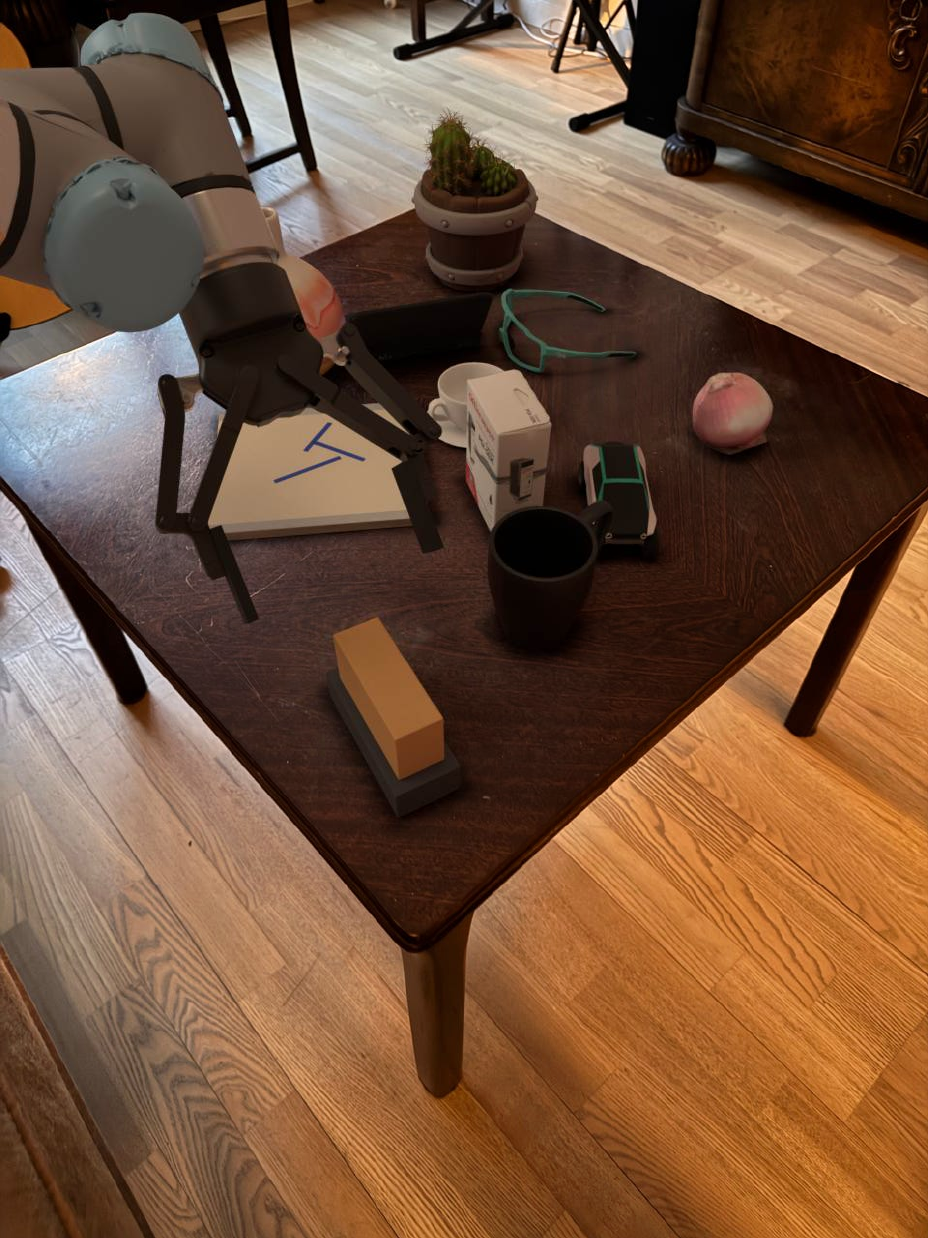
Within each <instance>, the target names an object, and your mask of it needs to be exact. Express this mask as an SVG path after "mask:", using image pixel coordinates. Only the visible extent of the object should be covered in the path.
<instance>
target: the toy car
mask: <svg viewBox="0 0 928 1238" xmlns="http://www.w3.org/2000/svg"><path fill="white" fill-rule="evenodd" d="M582 458H583V460H581V461H580V462H579V469H578V489H579V490H580V491H582V492H583V491H584V492H586V500H587V501H586V502H587V506H589V505H590V504H592V503H594V502H595V501H598V500H604V501H606V502H608V503H609V504H610V505H611V506H612V509H613V518H612V522H611V525H610V527H609V530H608V532H607V534H606V537H605V539H604V541H603V543H602V545H601V547H600V549H599V551H598V554H597V557H600V556H601V552H602V547H603V546H604V545H607V544H611V545H635V544H636V545H639V546H640V550H641V555H642V556H643V557H646V558H652V557H655V556H656V555H657V552H658V547H659V532H658V527H657V526H656V525H657V514H656V513H655V510H654V506H653V503H652V502H653V501H652V497H651V493H650V487H649V482H648V478H647V466H646V460H645V456H644V453H643V451H642V449H641V447H640V446H639V445H638V444H634V443H633V444H628V443H627V444H626V443H624V442H621V441H617V440H611V441H610V440H609V441H605V442H602V443H590V444H588V445H586V446H585V448H584V449H583V457H582ZM593 524H594V522H593V523H592V524H591V525H590V527H591V529H592V527H593Z"/></svg>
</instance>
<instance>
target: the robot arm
mask: <svg viewBox="0 0 928 1238" xmlns="http://www.w3.org/2000/svg"><path fill="white" fill-rule="evenodd" d="M225 107H226V106H225V103H224V97H223V94H222V92H221V90H220V87H219V86H218V85H217V83H216V81H215V79H214V77H213V74H212V72H211V70H210V67H209V65H208V63H207V60H206V58H205V56H204V55H203V53H202V51H201V49H200V47H199V44H198V42H197V40H196V38H195V36H194V35H193V34H192V33H191V32H190V30H189V29H187V27H186V26H185V25H183V24H181V23H180V22H179V21H177V20H175V19H173V18H171V17H169V16H166V15H163V14H158V13H152V12H135V13H130V14H128V16H127V17H126V18H125V19H122V20H115V19H110V20H108V21H105V22H103V23H102V24H101V25H99V26H98V27H97V28H96V29H94V30H93V31H92V32H91V33H90V34H89V35H88V36H87V38H86V39H85V41H84V43H83V45H82V47H81V51H80V66H71V67H35V68H34V67H31V68H26V67H25V68H23V67H22V68H0V277H4V278H8V279H11V280H14V281H17V282H21V283H24V284H28V285H32V286H34V287H38V288H41V289H45V290H48V291H51V292H53V293H54V295H55V296H56V297H57V299H59V301H60V303H62V304H63V305H64V306H66V307H67V308H69V309H70V310H72V311H74V312H75V313H76V314H79V315H81V316H83V317H84V318H86V320H88V321H90V322H91V323H93V324H95V325H96V326H98V327H101V328H103V329H107V330H109V331H114V332H118V333H128V334H129V333H139V332H144V331H149V330H152V329H155V328H158V327H160V326H162V325H164V324H167V322H169V321H171V320H172V319H174V318H175V317H176V316H177V315H178V316H179V318H180V320H181V322H182V325H183V329H184V331H185V333H186V336H187V338H188V341H189V344H190V346H191V348H192V350H193V353H194V356H195V358H196V361H197V365H198V373H197V374H191V375H184V376H178V377H175V376H174V375H173V374H170V373H165V374H161V376H159V377H158V380H157V389H156V390H157V391H156V392H157V397H158V401H159V404H160V408H161V411H162V415H163V418H164V424H163V433H162V445H161V454H160V455H161V456H160V468H159V477H158V489H157V498H156V499H157V500H156V511H155V520H154V521H155V523H154V525H155V526H154V527H155V529H156V531H157V532H158V533H160V534H161V535H169V534H170V535H171V534H172V535H173V534H174V535H185V536H187V537H188V538H189V539H190V540H191V542H192V544H193V546H194V549H195V551H196V554H197V556H198V558H199V561H200V564H201V566H202V569H203V571H204V573H205V576H207V578H208V579H209V580H210V581H211V582H213V581H216V580H219V579H221V578H225V580H226V583H227V585H228V587H229V590H230V593H231V594H232V597H233V600H234V602H235V605H236V607H237V609H238V612H239V614H240V617H241V620H242V621H243V624H252V623H254V622H256V621H259V620H260V617H259V614H258V611H257V609H256V607H255V604H254V601H253V600H252V597H251V594H250V592H249V589H248V587H247V584H246V582H245V579H244V577H243V575H242V571H241V569H240V567H239V565H238V561H237V560H236V557H235V554H234V552H233V550H232V547H231V544H230V543H229V542H230V541H229V540H227V537H226V535H225V532H224V530H223V527H222V525H219V526H216V527H213V528H209V525H208V520H209V517H210V515H211V512H212V509H213V506H214V503H215V501H216V498H217V495H218V492H219V489H220V487H221V484H222V481H223V478H224V475H225V473H226V470H227V467H228V464H229V461H230V458H231V456H232V453H233V450H234V447H235V444H236V442H237V439H238V436H239V434H240V431H241V428H242V426H243V423H246V424H248V425H252V426H257V428H258V427H261V426H264V425H268V424H269V423H271V422H272V421H274V420H276V419H277V418H290V417H293V416H296V415H300V414H301V413H302V411H304V410H305V409H306V408H313V409H315V410H316V411H318V412H320V413H323V414H326V415H328V416H330V417H331V418H333V419H335V420H336V421H338V422H340V423H341V424H343V425H344V426H346V427H348V428H349V429H351V430H352V431H354V432H356V433H357V434H359V435H360V436H362V437H364V438H365V439H367V440H368V441H370V442H372V443H373V444H375V445H376V446H378V447H380V448H381V449H383V450H385V451H386V452H388V453H389V454H391V455H393V456H394V457H396V458H397V459H399V460H401V461H402V462H401V463H400V464H398V465H396V466H395V467H393V468H391V469H392V472H393V475H394V477H395V480H396V483H397V486H398V488H399V491H400V494H401V496H402V499H403V502H404V504H405V507H406V510H407V512H408V515H409V518H410V520H411V523H412V526H411V527H412V528H413V531H414V534H415V536H416V539H417V542H418V545H419V547H420V551H421V552H422V555H423V554H429V553H433V552H436V551H440V550H441V549H444V548H445V546H444V544H443V541H442V538H441V535H440V533H439V530H438V527H437V525H436V522H435V519H434V516H433V514H432V511H431V508H430V506H429V503H430V502H432V501H434V500H437V489H436V486H435V484H434V481H433V478H432V475H431V472H430V469H429V467H428V464H427V461H426V458H425V453H426V450H427V449H428V447H430V446H431V445H432V444H433V443H435V442H436V441H437V440H439V437H440V436H441V435H442V428H441V426H440V425H439V424H438V423H437V422H436V421H435V420H434V419H433V418H432V417H431V416H430V415H429V414H428V412H427V411H428V410H426V409H425V408H424V407H423V406H422V405H421V404H420V403H419V402H418V401H417V400H416V399H415V398H414V397H413V396H412V395H411V394H410V393H409V391H408V390H407V389H405V387H403V385H402V384H401V383H400V382H399V381H398V380H397V379H395V377H394V376H393V375H392V374H391V373H390V372H389V371H388V370H387V369H386V368H385V367H384V366H383V365H382V364H381V363H380V362H378V361H377V360H376V359H375V358H374V357H373V356H372V355H371V354H370V353H369V352H368V350H367V348H366V346H365V344H364V342H363V340H362V338H361V336H360V334H359V332H358V329H357V328H356V326H355V325H353V324H352V323H345V324H344V325H342V327H341V328H340V330H339V331H338V332H335V333H333V334H331V335H328V336H326V337H324V338H321V339H319V340H317V339H316V338H315V337H314V336H313V335H312V334H311V333H310V332H309V330H308V328H307V326H306V324H305V321H304V318H303V315H302V313H301V310H300V307H299V305H298V302H297V299H296V297H295V294H294V291H293V289H292V286H291V283H290V281H289V278H288V275H287V273H286V271H285V269H284V268H282V267H280V266H279V265H277V262H278V259H279V257H280V255H279V251H278V248H277V246H276V243H275V241H274V238H273V236H272V233H271V231H270V228H269V225H268V223H267V220H266V218H265V215H264V213H263V210H262V208H261V207H262V205H261V203H260V200H259V198H258V196H257V193H256V190H255V188H254V186H253V182H252V179H251V175H250V173H249V171H248V168H247V166H246V163H245V160H244V157H243V155H242V152H241V149H240V147H239V146H240V145H239V144H238V141H237V139H236V136H235V133H234V130H233V128H232V125H231V121H230V120H229V116H228V114H227V111H226V109H225ZM323 357H329V358H331V359H332V360H333V361H334V362H335V364H336V365H337V366H341V367H343V366H344V368H345V369H346V370H347V372H348V373H349V375H351V377H352V378H353V379H354V380H355V382H357V383H358V384H359V385H360V386H361V387H362V388H363V389H364V390H365V391H366V392H367V393H368V394H369V395H370V396H371V397H372V398H373V399H374V400H375V401H376V403H379V404H380V405H381V406H382V407H383V408H384V409H385V410H386V411H387V412H388V413H389V414H390V415H391V416H392V417H393V418H394V419H395V420H396V421H397V422H398V423H399V424H400V425H401V426H402V427H403V428H404V429H405V430H406V431H407V432H408V433H409V434H408V433H406V432H405V431H403V430H402V429H400V428H399V427H397V426H395V425H394V424H392V423H391V422H389V421H387V420H386V419H384V418H383V417H381V416H380V415H378V414H376V413H375V412H373V411H372V410H370V409H369V408H367V407H365V406H364V405H362V404H363V403H361V402H359V401H358V400H356V399H354V398H353V397H351V396H350V395H348V394H347V393H345V392H344V391H342V390H341V388H340V387H339V386H338V385H337V384H336V383H334V382H332V381H331V380H329V379H327V378H326V377H324V375H322V376H321V375H320V374H319V372H320V369H321V365H322V361H323ZM201 393H202V394H203V395H204V396H205V397H206V398H207V399H209V400H210V401H212V402H214V403H215V404H216V405H218V406H219V407H220V408H222V409H223V410H224V411H225V413H224V414H225V416H224V418H223V421H222V424H221V427H220V430H219V432H218V431H217V434H218V435H217V434H216V435H217V436H216V438H215V441H214V444H213V446H212V449H211V452H210V455H209V458H208V461H207V464H206V466H205V469H204V471H203V473H202V474H203V475H202V477H201V480H200V483H199V485H198V489H197V491H196V494H195V497H194V499H193V502H192V505H191V508H190V511H189V512H178V504H179V501H178V500H179V490H180V481H181V469H182V459H183V447H184V437H185V436H184V435H185V427H186V413H188V412H190V411H192V410H193V408H194V405H195V399H196V398H195V397H196V396H197V395H199V394H201Z"/></svg>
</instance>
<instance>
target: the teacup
mask: <svg viewBox="0 0 928 1238" xmlns="http://www.w3.org/2000/svg"><path fill="white" fill-rule="evenodd" d="M504 371H505V370H503V369H502V368H500V367H499V366H495V365H493V364H491V363H485V362H476V361H473V362H463V363H458V364H456V365H453V366H450V367H449V368H447V369H445V370H444V371H443V372H442V373H441V374H440V375H439V377H438V381H437V390H438V396H439V397H438V398H435V399H433V400H432V401H430V402H429V404H428V409H427V410H426V411H427V412H428V414H429V415H430V416H431V417H432V418H433V419H434V420H435V421H436V422H437V423H438V424H439V425H440V426H441V428H442V435H441V436H440V437H439V438H438V440H440V441H442V442H444V443H446V444H449V445H451V446H454V447H455V446H456V447H459V448H466V449H467V380H468V379H471V378H475V377H479V376H484V375H489V374H493V373H499V372H504Z"/></svg>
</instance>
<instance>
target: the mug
mask: <svg viewBox="0 0 928 1238" xmlns="http://www.w3.org/2000/svg"><path fill="white" fill-rule="evenodd" d="M612 518H613V509H612V506H611V505H610V504H609V503H608V502H606V501H604V500H598V501H595V502H594V503H592V504H590V505H589V506H588V505H587V506H586V507H585V508H583V509H582V510H581V511H580V512H578V513H577V514H575V513H573V512H571V511H569V510H566V509H563V508H560V507H555V506H549V505H543V506H531V507H524V508H521V509H517V510H514V511H512V512H510V513H508V514H506V515H505V516H503V517H502V518H501V519H500V520H498V522H497V523H496V524H495V525H494V527H493V528H492V530H491V531H490V533H489V536H488V548H487V580H488V588H489V592H490V595H491V600H492V603H493V606H494V610H495V613H496V615H497V618H498V620H499V623H500V625H501V629H502V632H503V633H504V635H505V637H506V638H507V639H508V640H509V641H510V642H511V643H513V644H514V645H516V646H518V647H520V648H523V649H526V650H531V651H541V650H548V649H551V648H554V647H555V646H557V645H559V644H560V643H561V642H563V640H565V638H566V636H567V635H568V633H569V631H570V629H571V628H572V626H573V625H574V623H575V622H576V620H577V619H578V617H579V615H580V613H581V612H582V610H583V608H584V606H585V603H586V601H587V599H588V597H589V594H590V591H591V588H592V584H593V581H594V576H595V571H596V567H597V566H596V565H597V560H598V556H597V554H598V551H599V549H600V547H601V545H602V543H604V542H605V541H604V539H605V537H606V534H607V532H608V530H609V527H610V525H611V522H612ZM593 522H594V524H593V527H592V529H591V527H590V525H592V523H593ZM603 541H604V542H603ZM602 546H603V545H602ZM601 548H602V547H601Z"/></svg>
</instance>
